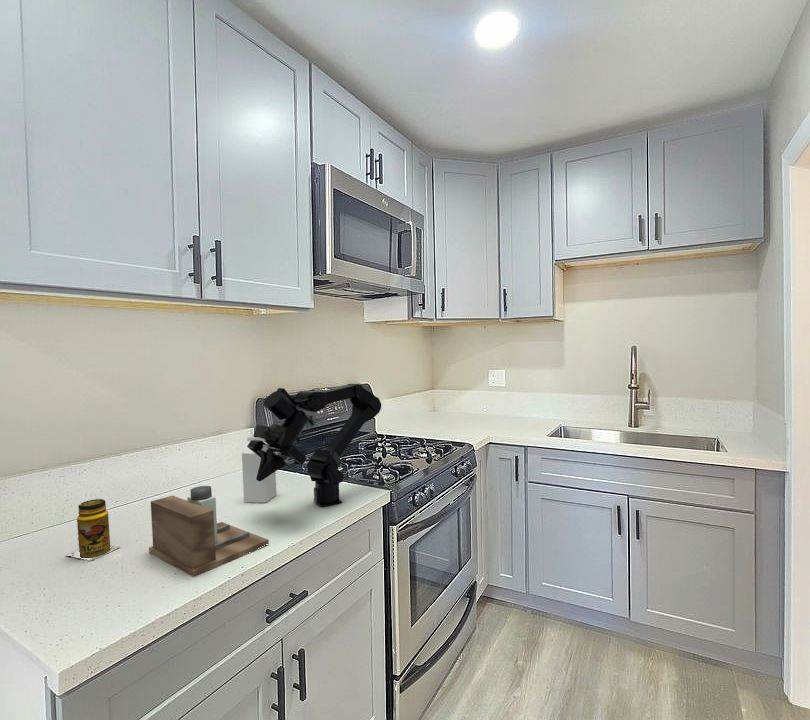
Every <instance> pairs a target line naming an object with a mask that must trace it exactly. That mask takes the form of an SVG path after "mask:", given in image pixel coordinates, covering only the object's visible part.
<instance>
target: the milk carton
mask: <svg viewBox="0 0 810 720" xmlns="http://www.w3.org/2000/svg"><path fill="white" fill-rule="evenodd" d="M246 438H247V439H246V443H245V445H244V447H243V450H242V452H241V464H242V465H241V466H242V484H243V485H242V486H243V487H242V490H243V501H244V503H259V504H266V503H268V502H269V501H270V500H272V499H273V498H274V497H276V496H277V495H278V494H277V476H276V475H277V473H276V472H277V471H275V472H274V473H272V474H271V475H269V476H268V477H266V478H265V479H263V480H262V481H257V480H256V477H257V473H258V470H259V466H260V461H261V457H259V456H258V455H257V454H255V453H254V452H253V451H252V450H250V449H249V448H248V447H247V446H248V444H249V443H250V441H251V440H261V441H263V442H264V441H265V439H262V438H259V437H253V436H252V437H249V436H248V437H246ZM264 443H265V442H264ZM265 444H267V443H265ZM267 445H268V446H269V444H267Z"/></svg>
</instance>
